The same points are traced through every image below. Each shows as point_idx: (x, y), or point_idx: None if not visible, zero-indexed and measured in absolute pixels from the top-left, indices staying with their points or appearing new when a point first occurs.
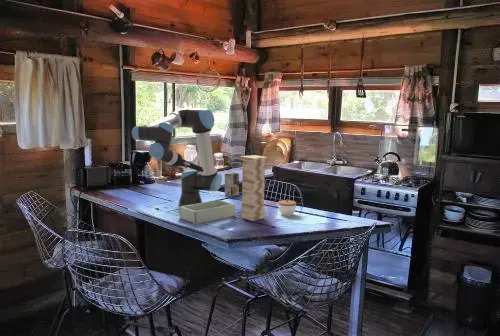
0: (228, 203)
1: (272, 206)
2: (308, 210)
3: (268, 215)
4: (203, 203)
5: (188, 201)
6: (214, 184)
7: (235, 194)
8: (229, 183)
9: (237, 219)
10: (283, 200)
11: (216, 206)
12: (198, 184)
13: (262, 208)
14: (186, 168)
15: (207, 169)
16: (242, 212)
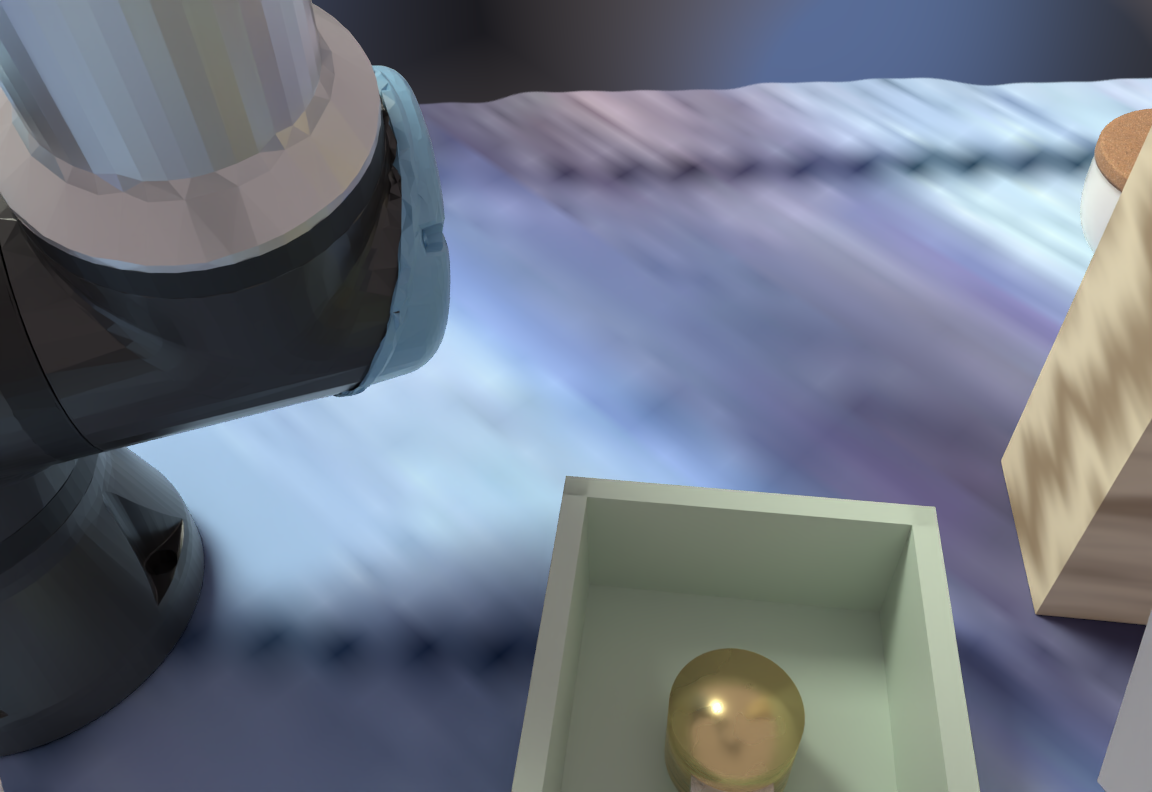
0: (808, 520)
1: (808, 170)
2: (1100, 109)
3: None
4: (543, 784)
5: (50, 670)
6: (441, 315)
7: None
8: None
9: (1086, 709)
10: (1116, 137)
11: (583, 585)
12: (120, 415)
13: None
14: None
15: (252, 118)
16: (1073, 574)
